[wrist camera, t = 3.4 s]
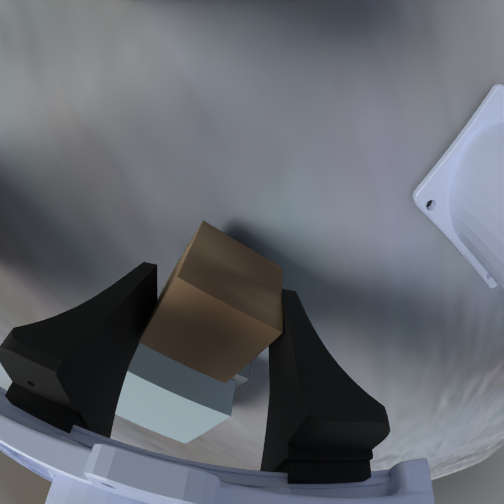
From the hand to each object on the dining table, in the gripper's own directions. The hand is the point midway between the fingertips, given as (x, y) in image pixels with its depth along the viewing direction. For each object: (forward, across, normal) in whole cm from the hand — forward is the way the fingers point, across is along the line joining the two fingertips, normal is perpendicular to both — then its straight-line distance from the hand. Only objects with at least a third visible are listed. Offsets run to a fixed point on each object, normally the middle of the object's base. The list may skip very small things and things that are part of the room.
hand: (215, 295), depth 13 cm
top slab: (+1, +2, +9) cm, 9 cm away
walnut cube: (+2, 0, 0) cm, 2 cm away
